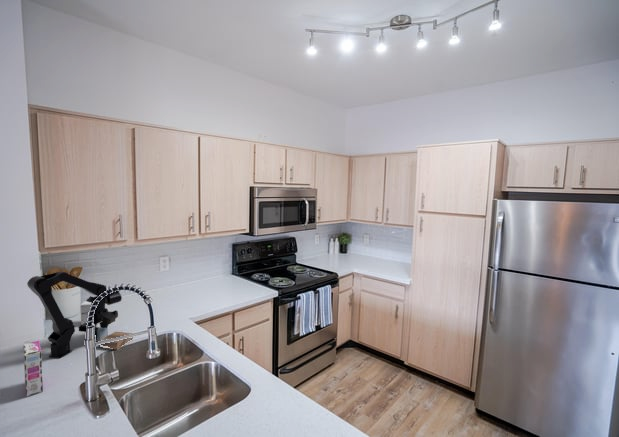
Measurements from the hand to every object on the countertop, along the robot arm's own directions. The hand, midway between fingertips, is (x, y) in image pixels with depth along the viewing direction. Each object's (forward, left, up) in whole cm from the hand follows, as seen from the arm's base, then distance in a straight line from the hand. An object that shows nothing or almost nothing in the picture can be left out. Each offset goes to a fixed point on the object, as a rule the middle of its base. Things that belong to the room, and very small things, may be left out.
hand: (99, 337), depth 157 cm
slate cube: (0, 0, -1) cm, 1 cm away
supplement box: (+16, +20, -1) cm, 26 cm away
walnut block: (-3, -12, -1) cm, 12 cm away
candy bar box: (-38, -6, -1) cm, 39 cm away
